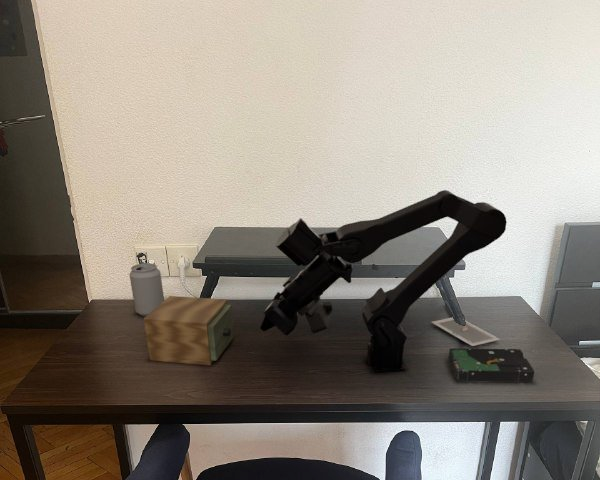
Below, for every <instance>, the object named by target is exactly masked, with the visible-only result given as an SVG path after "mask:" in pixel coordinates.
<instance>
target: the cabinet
mask: <svg viewBox="0 0 600 480" xmlns="http://www.w3.org/2000/svg"><path fill="white" fill-rule="evenodd" d="M226 305H228V299H223V298H207V297H193V296H192V297H191V296H178V295H169V296H168V297H166V298H164V301H163V302H162V303H161V304H160V305H159V306H157V307H156V308H155V309H154V310H153V311H152V312H151V313H150V314H148V315H147V316H144V318H143V324H144V329H145V335H146V342H147V343H146V344H147V349H148V354H149V355H148V356H149V360H150V361H156V362H164V363H165V362H166V363H177V364H178V363H179V364H189V365H201V366H211V365H212V364H213V363H214V361H213V360H211V354H210V344H209V334H208V324H209V323H210V322H211V321H212V320H213V319H214V317H215V316H216V315H217V314H218V313H219V312H220V311H221V310H222V309H223V308H224V307H225V306H226Z"/></svg>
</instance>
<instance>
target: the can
mask: <svg viewBox="0 0 600 480" xmlns="http://www.w3.org/2000/svg"><path fill="white" fill-rule="evenodd" d="M130 270H131V271H130V272H129V273H128V274H129V281H130V287H131V292H132V299H133V305H134V311H135V313H137V314H138V315H140V316H142V317H146V316H147V315H148V314H150V313H151V312H152V311H153V310H154V309H155V308H156V307H157V306H159V305H160V304H161V303H162V302H163V301H164V300H165V297H164V290H163V289H164V288H163V282H162V281H163V280H162V274H161V273H162V272H161V270H160V269H158V265H157V264H156V263H152V262H151V263H150V262H144V263H137V264H134V265H132V266H131V267H130Z"/></svg>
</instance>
